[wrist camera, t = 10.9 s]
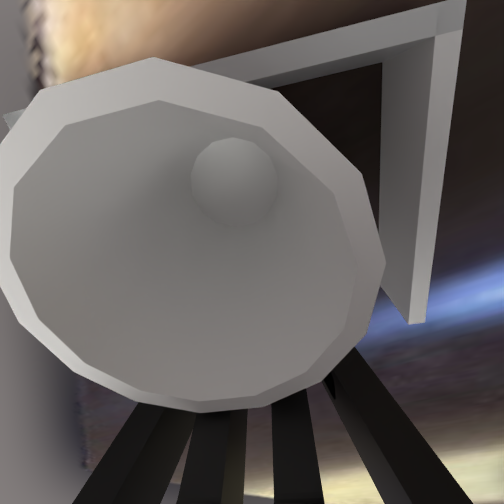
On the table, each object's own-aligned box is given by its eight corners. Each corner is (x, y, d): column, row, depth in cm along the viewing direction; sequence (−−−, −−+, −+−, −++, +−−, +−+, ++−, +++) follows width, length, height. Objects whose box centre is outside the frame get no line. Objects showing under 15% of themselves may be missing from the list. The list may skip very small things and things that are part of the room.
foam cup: (247, 68, 15) (192, -117, 3) (329, 194, 18) (449, 324, 6) (140, 172, 18) (-89, 264, 6) (226, 265, 21) (181, 442, 9)
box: (390, 279, 21) (424, 322, 17) (160, 311, 23) (136, 356, 19) (402, 35, 14) (467, -5, 10) (72, 116, 16) (1, 115, 12)
